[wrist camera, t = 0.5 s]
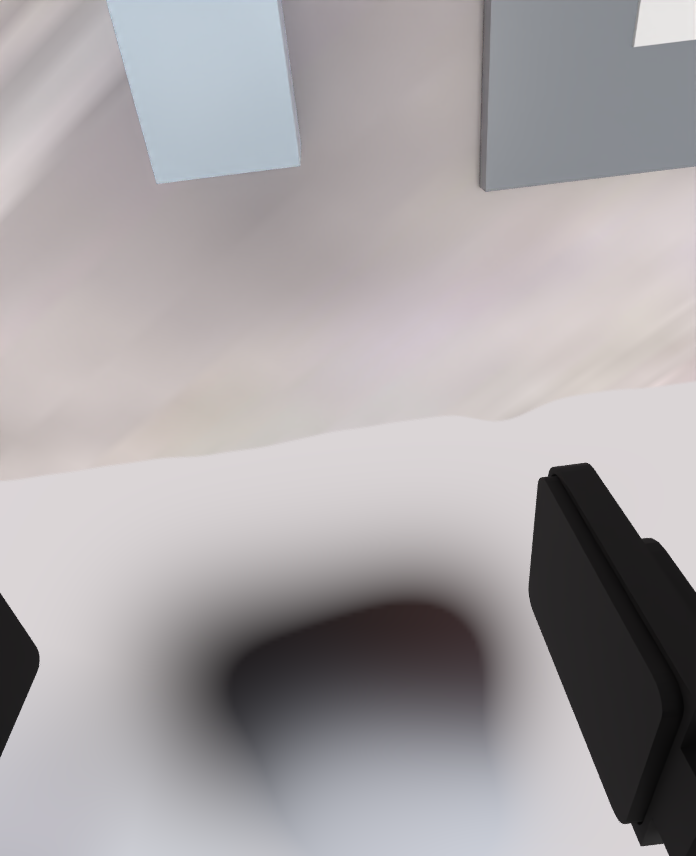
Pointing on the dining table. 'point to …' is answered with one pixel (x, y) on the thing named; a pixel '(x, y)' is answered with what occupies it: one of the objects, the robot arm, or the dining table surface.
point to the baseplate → (586, 90)
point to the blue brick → (209, 85)
